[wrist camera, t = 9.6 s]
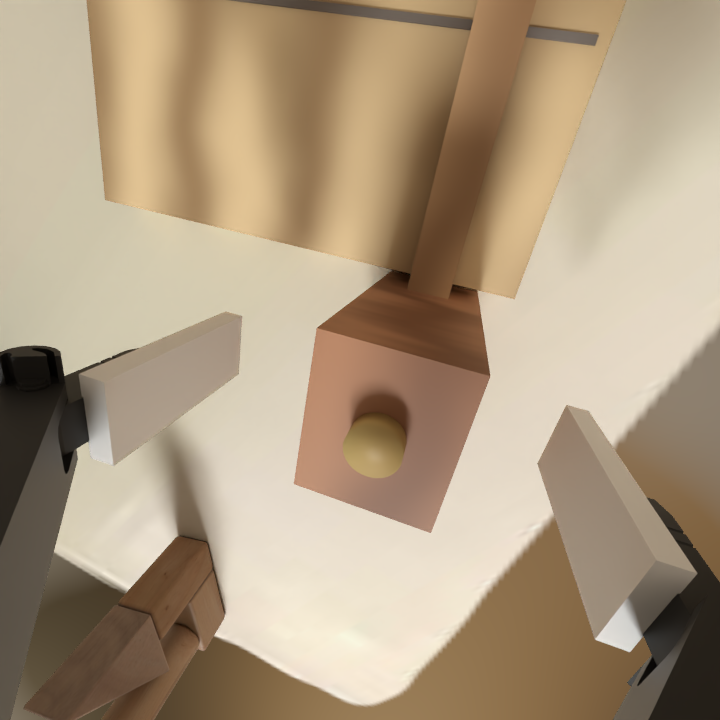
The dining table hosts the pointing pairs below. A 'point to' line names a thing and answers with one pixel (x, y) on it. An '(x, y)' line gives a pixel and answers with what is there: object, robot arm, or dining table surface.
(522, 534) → the dining table surface
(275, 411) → the dining table surface
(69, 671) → the wooden post assembly
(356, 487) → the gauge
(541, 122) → the board
